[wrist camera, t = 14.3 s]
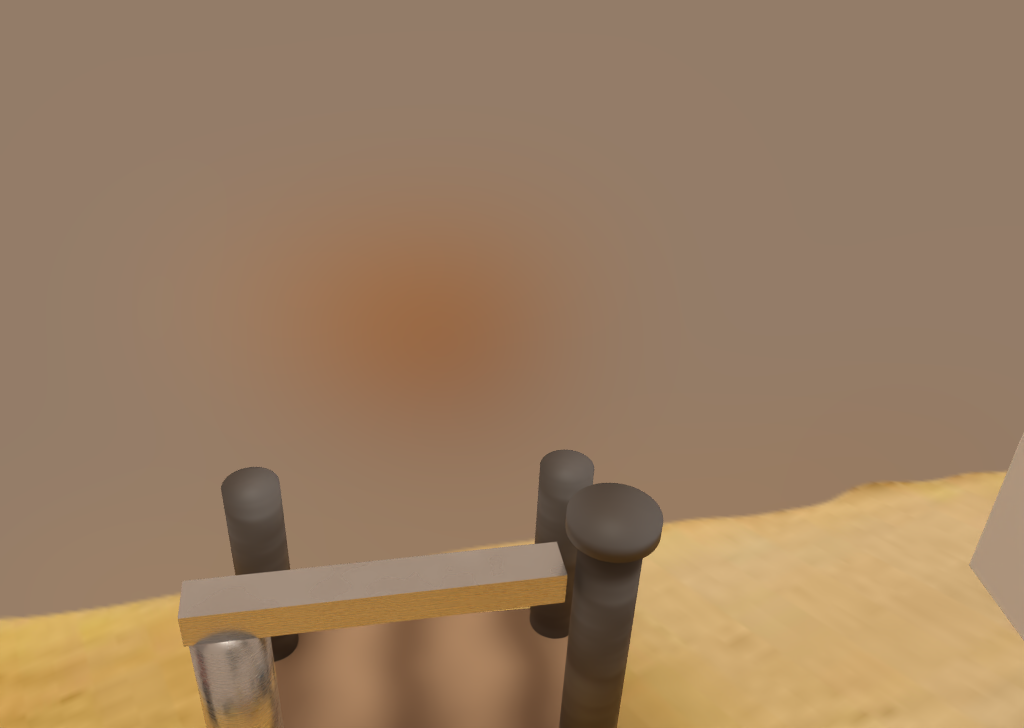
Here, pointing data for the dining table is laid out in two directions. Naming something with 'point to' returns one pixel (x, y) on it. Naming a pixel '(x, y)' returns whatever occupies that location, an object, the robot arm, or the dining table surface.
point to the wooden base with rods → (471, 623)
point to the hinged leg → (340, 613)
